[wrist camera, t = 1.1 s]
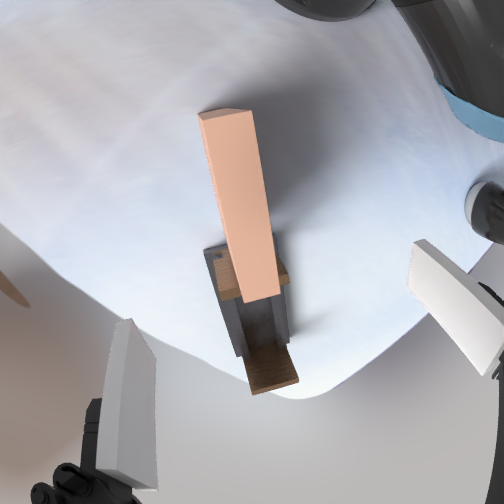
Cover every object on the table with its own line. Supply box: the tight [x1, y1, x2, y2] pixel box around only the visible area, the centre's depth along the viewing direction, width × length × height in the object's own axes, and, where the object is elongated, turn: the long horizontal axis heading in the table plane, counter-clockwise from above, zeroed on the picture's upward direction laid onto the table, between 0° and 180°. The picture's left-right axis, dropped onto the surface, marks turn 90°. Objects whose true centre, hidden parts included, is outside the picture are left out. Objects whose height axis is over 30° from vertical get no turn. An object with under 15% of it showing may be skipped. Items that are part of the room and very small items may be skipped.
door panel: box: [197, 108, 281, 303], centre depth 25 cm, size 3×14×14 cm, turn 10°
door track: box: [203, 233, 299, 395], centre depth 37 cm, size 9×20×9 cm, turn 10°
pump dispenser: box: [465, 182, 504, 245], centre depth 35 cm, size 10×10×15 cm
